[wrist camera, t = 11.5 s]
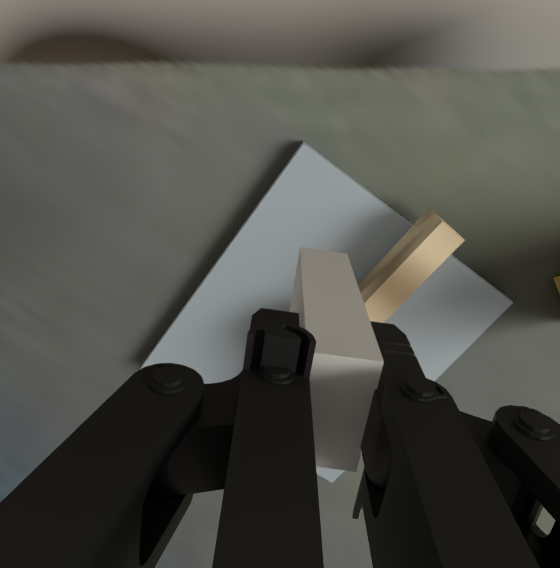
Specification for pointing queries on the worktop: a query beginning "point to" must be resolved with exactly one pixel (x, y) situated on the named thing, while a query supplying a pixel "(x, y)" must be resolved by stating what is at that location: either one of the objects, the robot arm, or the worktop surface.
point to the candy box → (557, 282)
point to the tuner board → (282, 269)
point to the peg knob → (407, 265)
